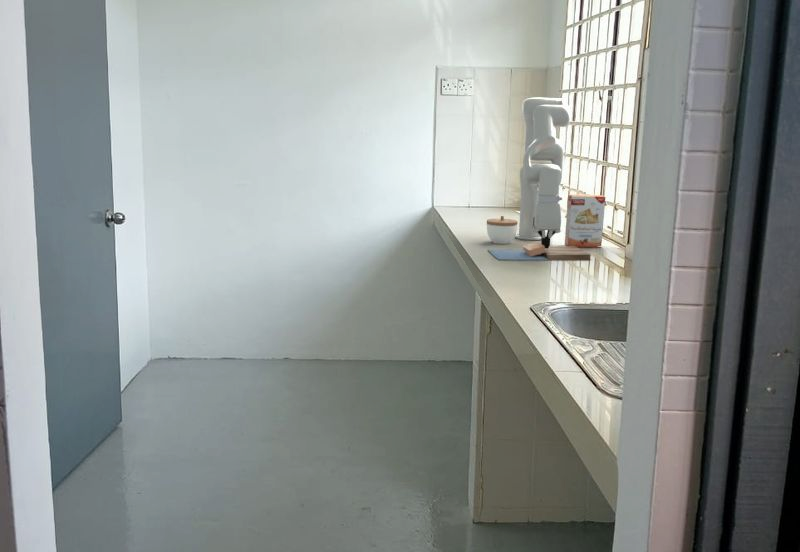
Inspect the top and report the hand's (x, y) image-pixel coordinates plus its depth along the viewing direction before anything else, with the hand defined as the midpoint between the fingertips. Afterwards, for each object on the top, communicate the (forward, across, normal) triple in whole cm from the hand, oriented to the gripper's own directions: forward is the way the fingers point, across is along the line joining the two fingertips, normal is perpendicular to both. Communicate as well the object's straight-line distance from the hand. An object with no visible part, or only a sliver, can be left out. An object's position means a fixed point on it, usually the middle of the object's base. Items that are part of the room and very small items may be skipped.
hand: (545, 247), depth 303 cm
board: (+3, -7, 0) cm, 7 cm away
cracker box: (+3, -22, -21) cm, 30 cm away
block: (0, +4, 0) cm, 4 cm away
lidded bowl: (+3, +10, -30) cm, 32 cm away
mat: (+3, +11, 0) cm, 11 cm away
